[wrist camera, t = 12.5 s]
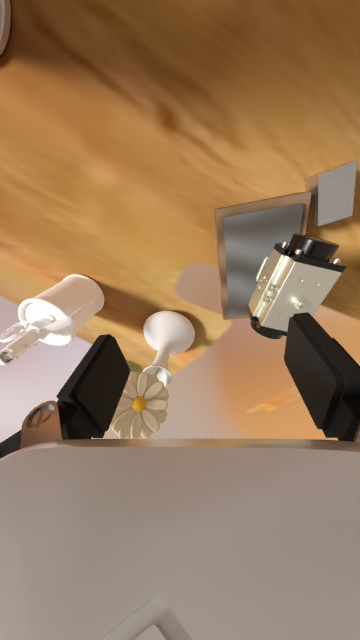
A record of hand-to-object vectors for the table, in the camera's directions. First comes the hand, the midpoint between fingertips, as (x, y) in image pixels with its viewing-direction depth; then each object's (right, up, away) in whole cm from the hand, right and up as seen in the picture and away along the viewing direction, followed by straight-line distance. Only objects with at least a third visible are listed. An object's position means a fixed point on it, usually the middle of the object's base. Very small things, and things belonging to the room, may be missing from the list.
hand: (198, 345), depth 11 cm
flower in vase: (-4, 0, +33) cm, 33 cm away
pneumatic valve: (+12, +9, +19) cm, 25 cm away
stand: (+12, +12, +23) cm, 28 cm away
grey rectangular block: (+19, +19, +17) cm, 32 cm away
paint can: (-21, +7, +31) cm, 38 cm away
